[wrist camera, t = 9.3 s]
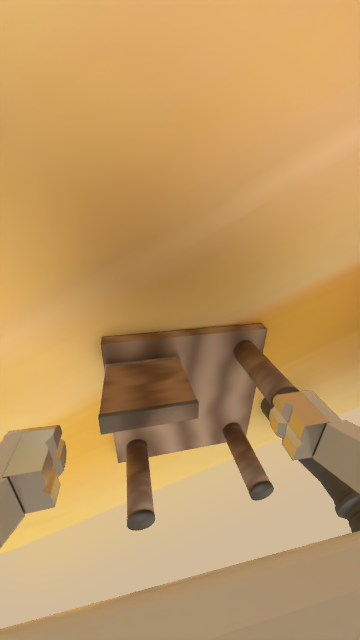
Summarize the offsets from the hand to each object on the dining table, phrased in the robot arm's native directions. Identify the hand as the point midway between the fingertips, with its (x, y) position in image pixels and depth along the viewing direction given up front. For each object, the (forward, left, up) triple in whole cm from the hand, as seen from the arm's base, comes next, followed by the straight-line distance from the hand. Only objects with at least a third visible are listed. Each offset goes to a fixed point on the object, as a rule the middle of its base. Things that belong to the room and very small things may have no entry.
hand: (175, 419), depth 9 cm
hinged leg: (0, +13, -21) cm, 25 cm away
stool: (-7, +22, -25) cm, 34 cm away
